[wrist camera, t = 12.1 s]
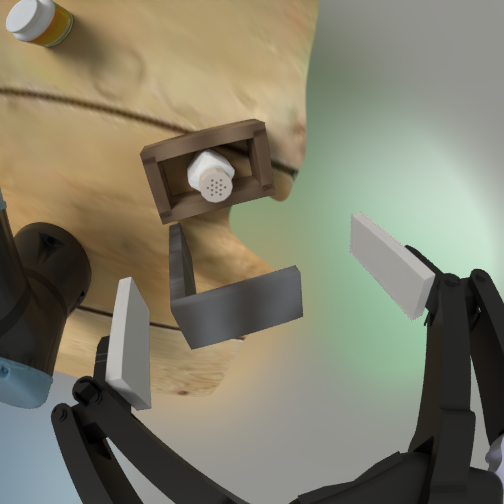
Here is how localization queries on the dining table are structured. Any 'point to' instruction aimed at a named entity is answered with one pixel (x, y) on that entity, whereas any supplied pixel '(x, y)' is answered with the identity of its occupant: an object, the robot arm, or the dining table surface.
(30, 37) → the supplement bottle
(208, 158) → the pepper shaker
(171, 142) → the brown and grey frame
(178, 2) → the dining table surface
